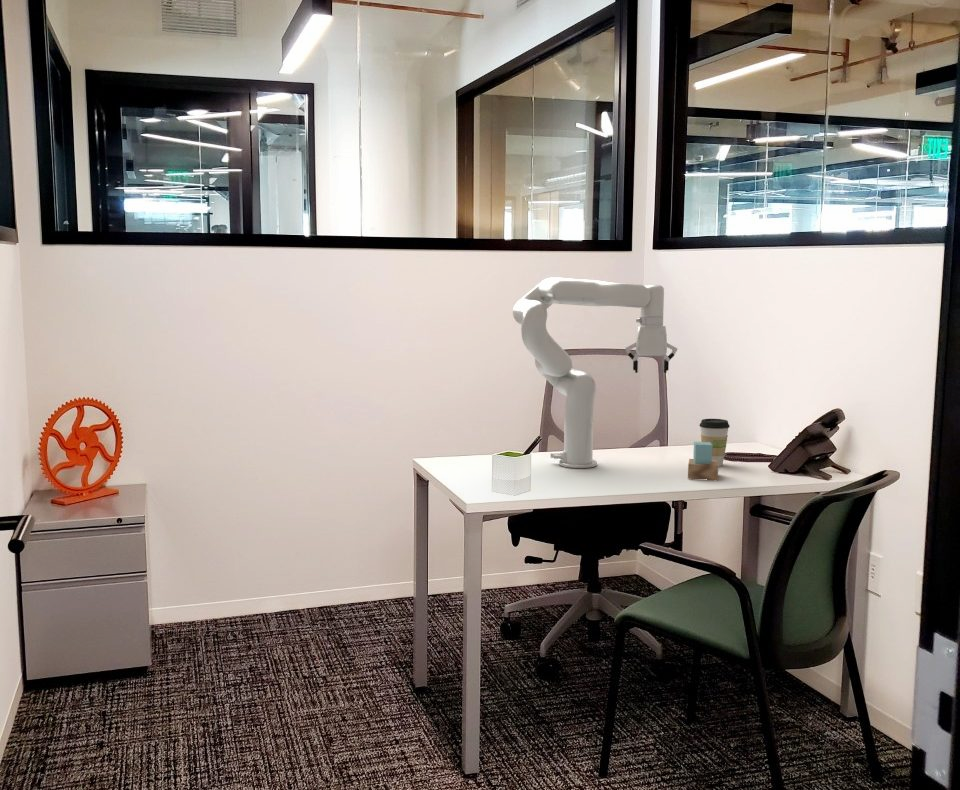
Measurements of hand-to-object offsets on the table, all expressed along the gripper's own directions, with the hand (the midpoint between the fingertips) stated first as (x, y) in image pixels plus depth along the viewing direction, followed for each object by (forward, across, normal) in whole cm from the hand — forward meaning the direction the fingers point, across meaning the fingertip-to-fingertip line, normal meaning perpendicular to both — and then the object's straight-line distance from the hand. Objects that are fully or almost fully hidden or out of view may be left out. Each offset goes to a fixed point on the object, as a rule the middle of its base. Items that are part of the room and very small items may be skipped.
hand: (650, 372), depth 313 cm
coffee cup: (+31, +21, -5) cm, 37 cm away
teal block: (+26, +15, -24) cm, 38 cm away
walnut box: (+31, +15, -24) cm, 42 cm away
